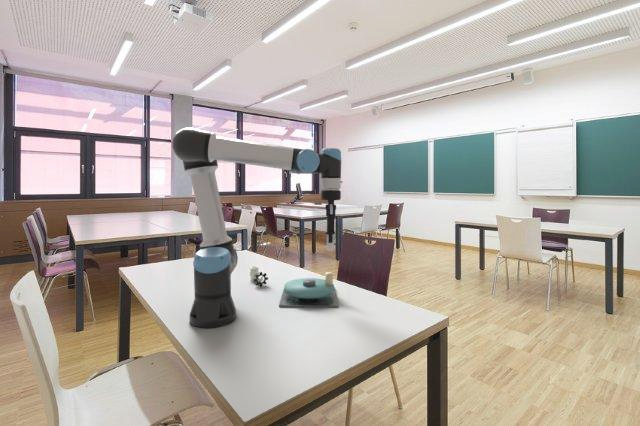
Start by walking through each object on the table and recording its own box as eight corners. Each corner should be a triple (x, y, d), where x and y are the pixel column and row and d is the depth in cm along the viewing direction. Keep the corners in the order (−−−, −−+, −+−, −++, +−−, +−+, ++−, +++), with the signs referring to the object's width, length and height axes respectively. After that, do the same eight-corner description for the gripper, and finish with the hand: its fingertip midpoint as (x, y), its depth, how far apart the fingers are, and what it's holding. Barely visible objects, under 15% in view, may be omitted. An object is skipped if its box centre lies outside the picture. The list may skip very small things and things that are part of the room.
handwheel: (282, 298, 125) (282, 280, 124) (286, 282, 145) (286, 266, 144) (335, 298, 125) (335, 280, 125) (332, 282, 145) (332, 267, 144)
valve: (246, 280, 157) (254, 287, 147) (246, 266, 157) (253, 273, 146) (259, 278, 161) (268, 285, 150) (259, 265, 160) (268, 271, 150)
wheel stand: (338, 307, 124) (338, 300, 124) (279, 307, 124) (279, 300, 124) (334, 288, 146) (334, 282, 146) (284, 288, 146) (284, 282, 146)
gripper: (342, 190, 120) (341, 254, 123) (339, 189, 133) (338, 247, 136) (321, 189, 120) (320, 254, 123) (320, 189, 133) (320, 247, 136)
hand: (330, 250), depth 129 cm, fingers closed
